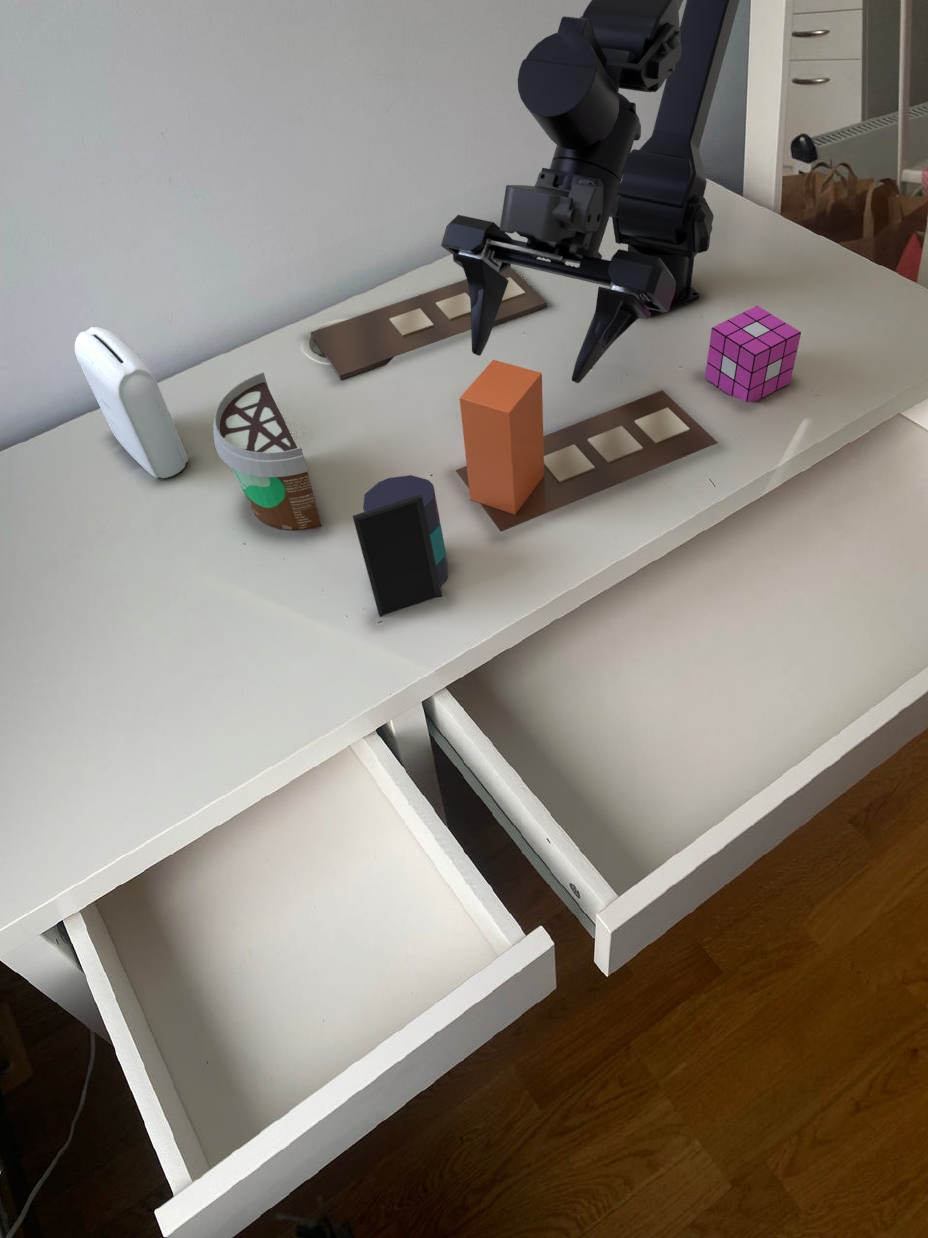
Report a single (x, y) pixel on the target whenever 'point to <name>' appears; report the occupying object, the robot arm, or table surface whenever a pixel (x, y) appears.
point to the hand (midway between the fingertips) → (524, 367)
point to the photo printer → (131, 401)
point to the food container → (264, 457)
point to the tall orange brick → (503, 435)
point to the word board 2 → (606, 454)
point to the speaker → (402, 542)
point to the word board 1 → (414, 324)
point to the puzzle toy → (752, 354)
